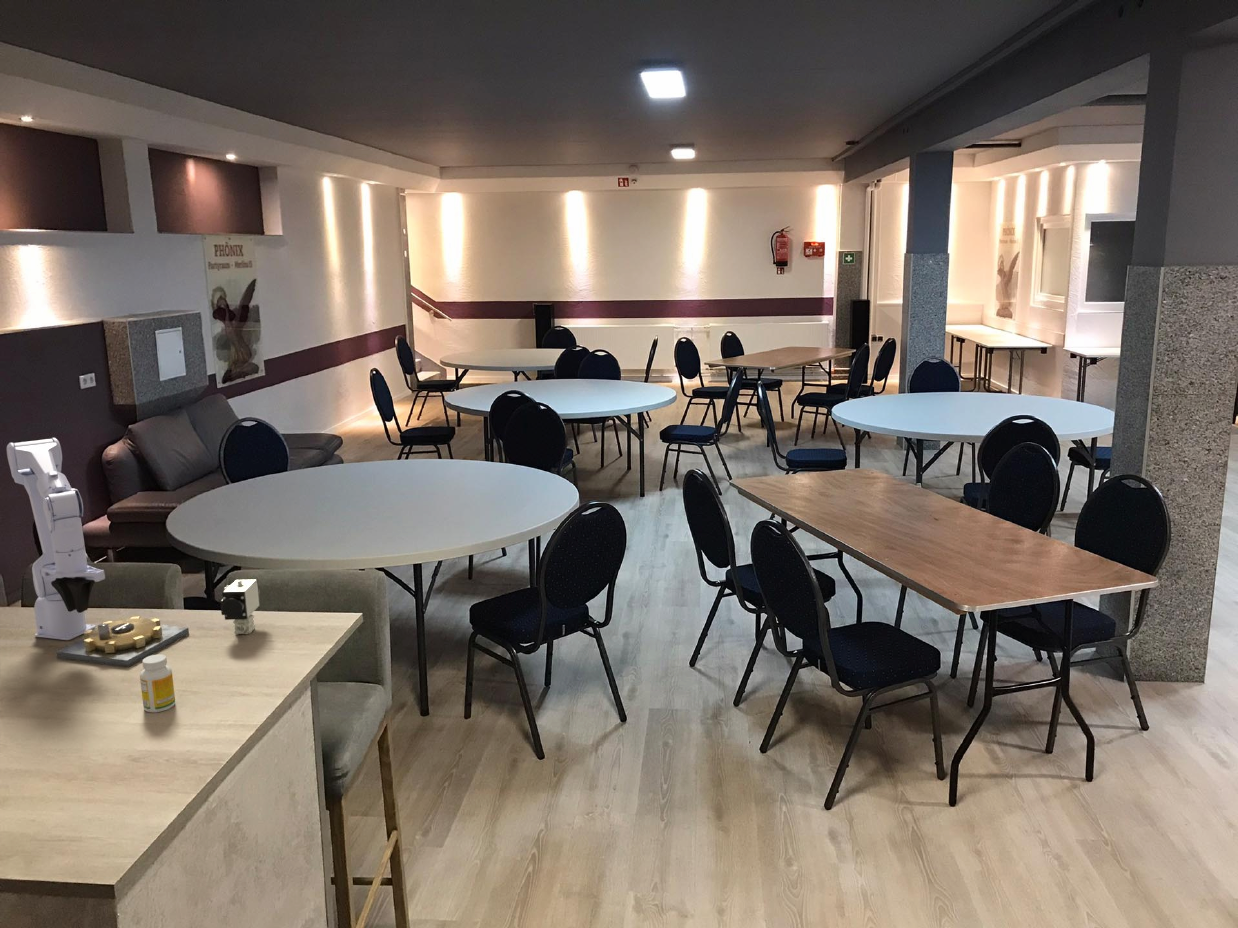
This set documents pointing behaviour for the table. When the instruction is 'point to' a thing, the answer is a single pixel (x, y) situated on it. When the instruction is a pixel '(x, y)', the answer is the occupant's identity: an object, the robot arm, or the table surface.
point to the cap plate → (125, 655)
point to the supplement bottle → (157, 684)
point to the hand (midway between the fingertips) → (77, 610)
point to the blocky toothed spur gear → (122, 634)
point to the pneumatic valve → (241, 604)
